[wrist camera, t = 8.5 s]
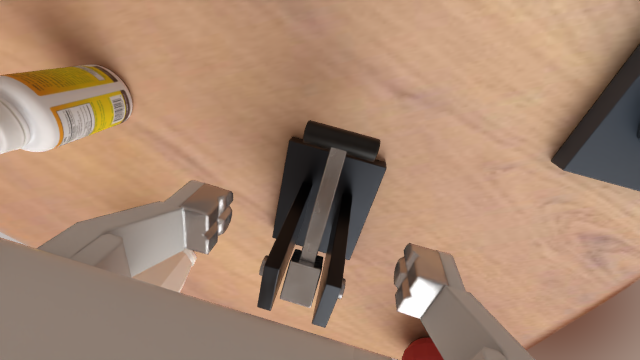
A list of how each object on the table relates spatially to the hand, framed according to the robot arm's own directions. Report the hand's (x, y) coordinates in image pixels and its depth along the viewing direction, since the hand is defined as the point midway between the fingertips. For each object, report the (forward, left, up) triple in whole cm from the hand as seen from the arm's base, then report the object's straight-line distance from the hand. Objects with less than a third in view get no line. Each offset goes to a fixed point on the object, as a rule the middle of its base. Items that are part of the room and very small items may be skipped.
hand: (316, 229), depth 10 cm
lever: (+5, 0, -8) cm, 10 cm away
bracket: (+9, 0, -15) cm, 18 cm away
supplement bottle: (+4, -23, -15) cm, 28 cm away
